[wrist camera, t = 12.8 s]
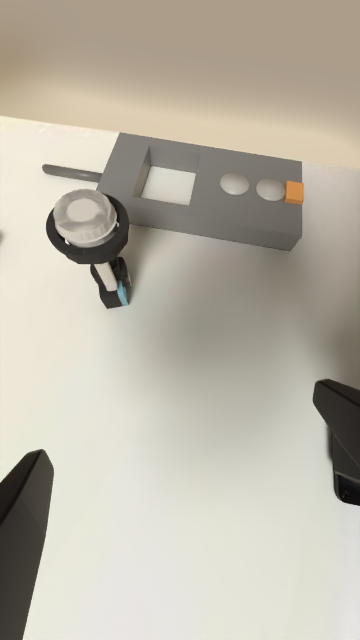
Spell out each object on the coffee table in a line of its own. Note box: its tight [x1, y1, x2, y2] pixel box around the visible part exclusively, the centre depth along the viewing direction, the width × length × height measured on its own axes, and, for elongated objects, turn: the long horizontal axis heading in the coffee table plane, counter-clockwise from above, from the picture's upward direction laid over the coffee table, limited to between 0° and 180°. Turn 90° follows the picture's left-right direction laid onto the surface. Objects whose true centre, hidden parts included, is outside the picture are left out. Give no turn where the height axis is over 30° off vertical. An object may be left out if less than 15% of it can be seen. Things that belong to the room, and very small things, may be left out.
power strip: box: [42, 132, 303, 251], centre depth 27 cm, size 30×11×3 cm, turn 80°
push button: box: [46, 189, 132, 309], centre depth 20 cm, size 7×5×10 cm
